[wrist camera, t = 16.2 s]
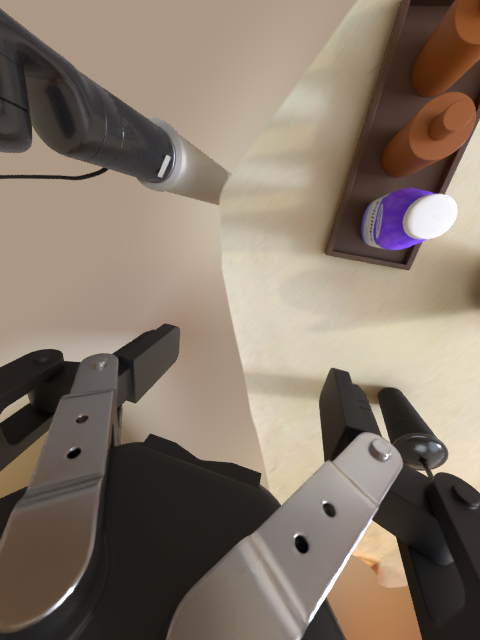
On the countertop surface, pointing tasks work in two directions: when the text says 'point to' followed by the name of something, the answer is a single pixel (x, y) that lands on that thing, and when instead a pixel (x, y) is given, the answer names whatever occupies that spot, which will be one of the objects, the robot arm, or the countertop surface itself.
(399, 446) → the drinking cup
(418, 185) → the tray
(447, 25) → the amber bottle
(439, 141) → the amber bottle
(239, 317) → the countertop surface
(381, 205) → the bottle
